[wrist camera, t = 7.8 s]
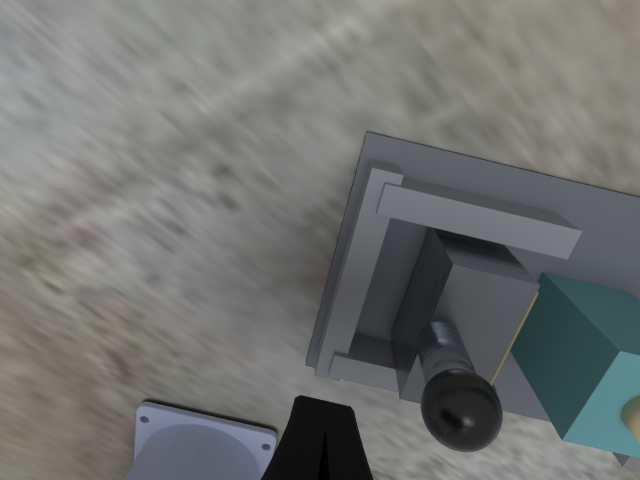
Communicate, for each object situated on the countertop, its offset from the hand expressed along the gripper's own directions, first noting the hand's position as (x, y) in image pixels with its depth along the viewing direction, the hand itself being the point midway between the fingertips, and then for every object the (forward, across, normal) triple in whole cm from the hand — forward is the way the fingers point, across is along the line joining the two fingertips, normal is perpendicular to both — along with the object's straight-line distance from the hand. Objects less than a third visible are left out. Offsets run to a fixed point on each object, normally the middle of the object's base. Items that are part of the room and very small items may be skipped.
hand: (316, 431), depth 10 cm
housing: (+9, -11, 0) cm, 14 cm away
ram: (+9, -5, 0) cm, 11 cm away
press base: (+10, -8, 0) cm, 12 cm away
